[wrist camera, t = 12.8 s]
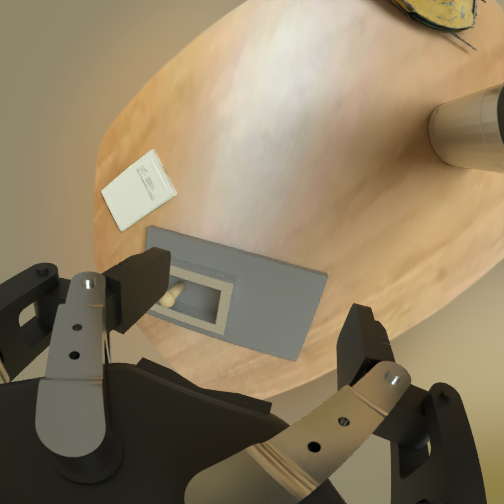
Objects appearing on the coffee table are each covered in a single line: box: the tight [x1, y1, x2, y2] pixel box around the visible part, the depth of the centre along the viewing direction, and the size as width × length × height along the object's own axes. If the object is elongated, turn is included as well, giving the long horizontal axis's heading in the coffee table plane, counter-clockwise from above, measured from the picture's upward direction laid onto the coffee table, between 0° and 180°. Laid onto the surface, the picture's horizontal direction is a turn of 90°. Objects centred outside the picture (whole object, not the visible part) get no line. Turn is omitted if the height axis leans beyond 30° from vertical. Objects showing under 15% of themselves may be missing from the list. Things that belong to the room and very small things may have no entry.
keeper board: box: [146, 225, 328, 361], centre depth 41 cm, size 28×16×7 cm, turn 78°
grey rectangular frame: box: [150, 256, 239, 335], centre depth 43 cm, size 13×9×3 cm
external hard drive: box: [101, 149, 178, 231], centre depth 42 cm, size 2×8×12 cm
